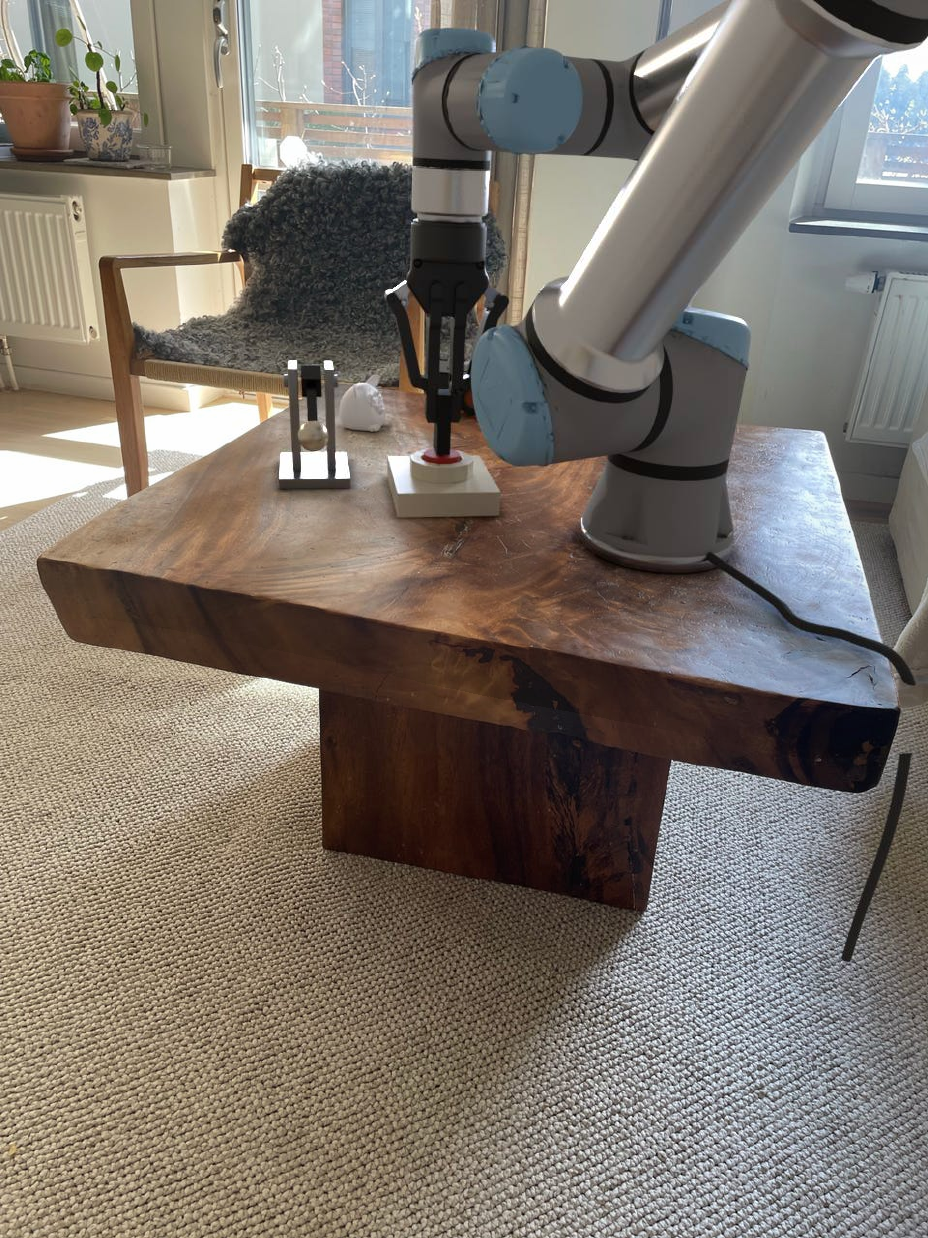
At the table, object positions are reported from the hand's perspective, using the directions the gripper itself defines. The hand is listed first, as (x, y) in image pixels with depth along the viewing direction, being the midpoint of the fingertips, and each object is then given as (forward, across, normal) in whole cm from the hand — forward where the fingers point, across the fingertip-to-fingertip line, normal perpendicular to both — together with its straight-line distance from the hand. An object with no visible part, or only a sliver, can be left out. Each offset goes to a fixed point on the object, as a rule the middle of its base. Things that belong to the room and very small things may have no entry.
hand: (441, 450), depth 98 cm
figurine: (+6, +7, -29) cm, 30 cm away
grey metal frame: (+5, +14, -8) cm, 17 cm away
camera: (+6, -10, -37) cm, 39 cm away
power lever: (-2, +14, -4) cm, 15 cm away
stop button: (+2, 0, 0) cm, 2 cm away
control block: (+5, 0, 0) cm, 5 cm away
